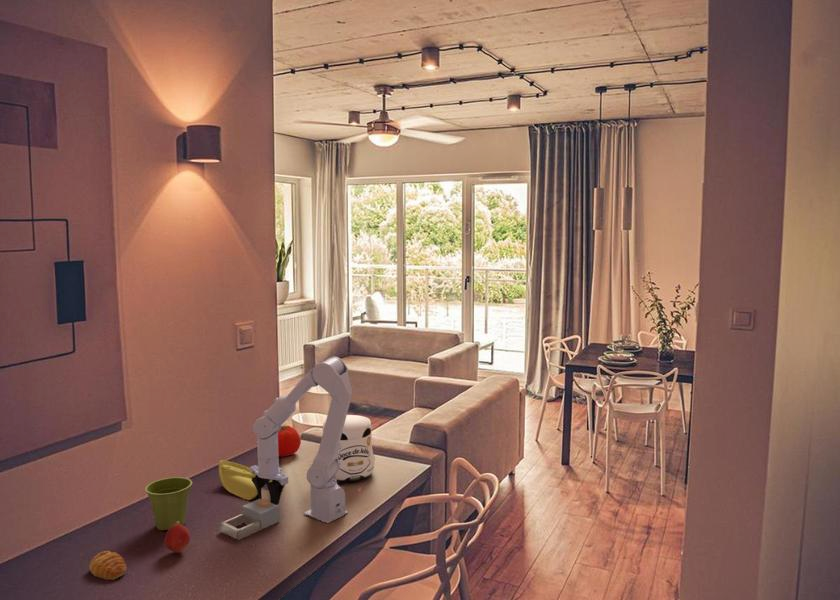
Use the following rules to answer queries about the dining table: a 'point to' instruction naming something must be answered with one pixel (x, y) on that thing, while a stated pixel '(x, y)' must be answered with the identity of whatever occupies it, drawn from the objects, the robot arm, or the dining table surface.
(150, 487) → the plant pot
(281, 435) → the tomato
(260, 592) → the dining table surface
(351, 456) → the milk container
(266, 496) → the cream capped bottle
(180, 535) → the onion
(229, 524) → the beige tray
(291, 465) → the dining table surface
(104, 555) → the pastry
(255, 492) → the plastic component
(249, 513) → the block
